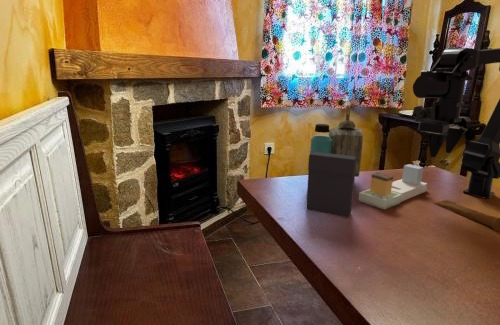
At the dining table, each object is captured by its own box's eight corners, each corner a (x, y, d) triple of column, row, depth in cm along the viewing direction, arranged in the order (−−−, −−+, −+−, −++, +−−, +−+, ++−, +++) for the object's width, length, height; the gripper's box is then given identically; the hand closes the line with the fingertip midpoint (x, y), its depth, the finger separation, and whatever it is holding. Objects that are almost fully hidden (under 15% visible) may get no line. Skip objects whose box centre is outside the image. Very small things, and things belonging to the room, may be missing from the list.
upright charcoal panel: (351, 212, 90) (357, 155, 87) (348, 218, 87) (354, 159, 83) (309, 205, 95) (313, 150, 91) (305, 210, 91) (308, 154, 87)
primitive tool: (431, 204, 99) (433, 192, 98) (447, 202, 100) (449, 190, 99) (495, 234, 81) (498, 220, 80) (513, 231, 82) (516, 217, 82)
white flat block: (404, 185, 113) (405, 177, 112) (426, 191, 108) (427, 183, 107) (378, 194, 104) (379, 186, 103) (400, 201, 99) (401, 193, 98)
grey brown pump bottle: (357, 191, 106) (366, 107, 100) (327, 189, 108) (333, 106, 101) (352, 177, 120) (359, 103, 114) (325, 175, 122) (331, 102, 115)
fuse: (405, 186, 111) (408, 164, 109) (419, 190, 108) (423, 167, 106) (400, 188, 109) (403, 165, 107) (415, 192, 106) (418, 169, 104)
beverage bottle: (332, 188, 108) (337, 123, 103) (324, 194, 103) (329, 126, 98) (312, 184, 112) (316, 121, 106) (303, 190, 106) (307, 124, 101)
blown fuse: (375, 196, 101) (378, 172, 99) (390, 201, 97) (393, 176, 95) (368, 199, 99) (371, 174, 97) (383, 203, 95) (387, 178, 93)
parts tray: (374, 194, 104) (375, 186, 103) (400, 203, 98) (401, 194, 97) (358, 200, 99) (359, 192, 98) (384, 209, 93) (385, 200, 92)
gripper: (435, 94, 106) (427, 145, 110) (403, 96, 94) (395, 153, 98) (476, 97, 97) (466, 152, 101) (446, 100, 86) (436, 162, 90)
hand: (440, 154), depth 98 cm, fingers open, 9 cm apart
